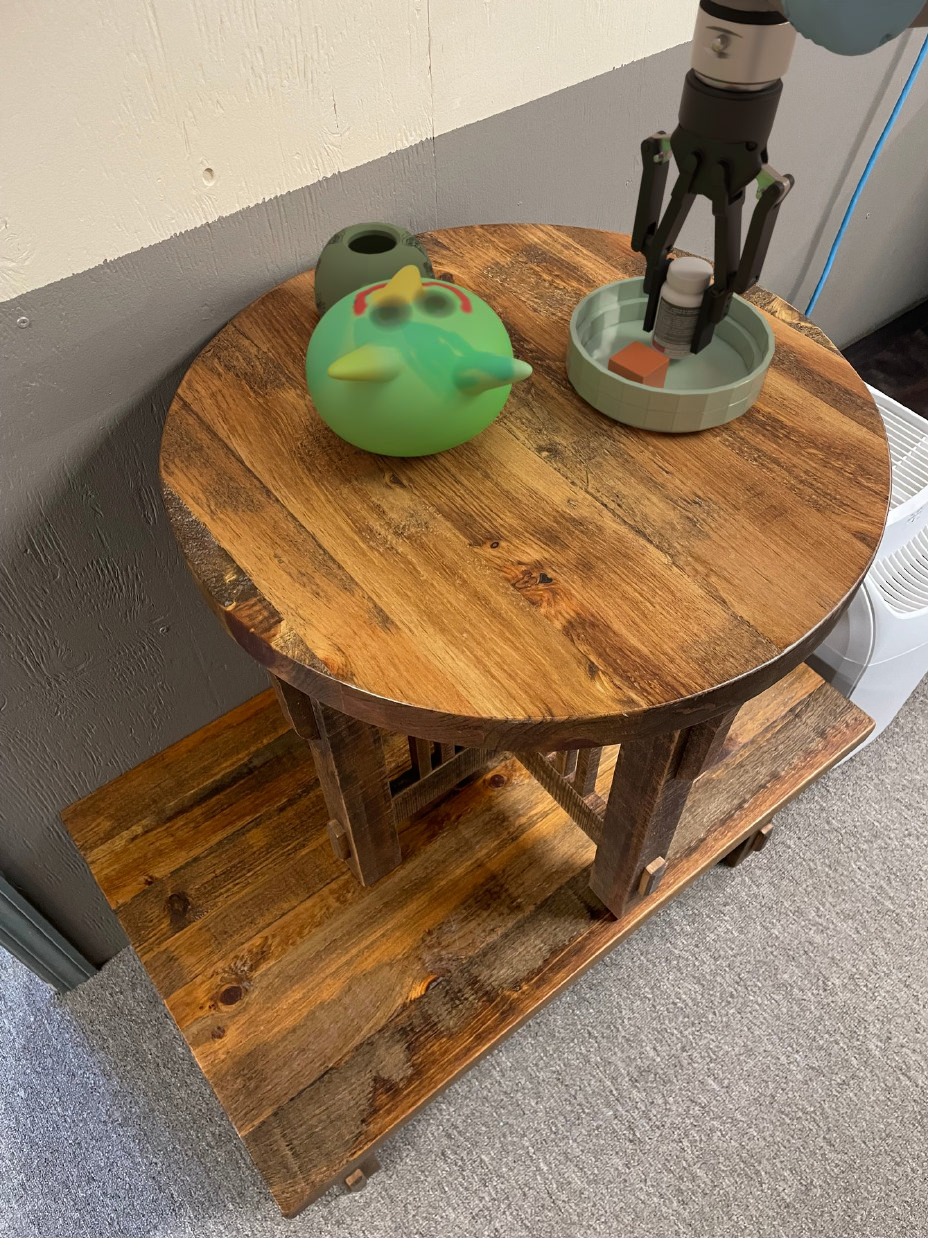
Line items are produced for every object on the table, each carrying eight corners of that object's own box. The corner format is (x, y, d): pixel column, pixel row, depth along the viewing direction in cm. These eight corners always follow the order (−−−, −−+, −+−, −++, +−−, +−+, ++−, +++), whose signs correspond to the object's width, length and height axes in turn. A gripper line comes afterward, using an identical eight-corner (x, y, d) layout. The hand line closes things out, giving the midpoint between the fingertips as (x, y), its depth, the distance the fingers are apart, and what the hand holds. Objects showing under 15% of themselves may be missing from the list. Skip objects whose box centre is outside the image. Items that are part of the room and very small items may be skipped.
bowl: (795, 369, 86) (811, 325, 82) (692, 467, 78) (704, 423, 74) (636, 297, 94) (644, 254, 90) (525, 379, 85) (529, 334, 81)
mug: (325, 282, 96) (315, 204, 89) (441, 285, 96) (440, 207, 89) (304, 370, 86) (291, 291, 79) (434, 373, 86) (432, 294, 79)
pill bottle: (701, 360, 84) (722, 282, 78) (653, 360, 84) (669, 281, 78) (694, 332, 87) (713, 254, 81) (647, 332, 87) (662, 253, 81)
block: (662, 393, 83) (670, 358, 80) (636, 412, 81) (643, 377, 78) (628, 375, 84) (635, 340, 81) (603, 394, 83) (608, 358, 79)
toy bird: (487, 368, 86) (492, 224, 75) (532, 482, 76) (546, 336, 65) (307, 392, 84) (283, 247, 72) (329, 513, 74) (305, 368, 62)
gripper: (613, 56, 69) (580, 318, 87) (818, 120, 61) (736, 391, 80) (665, 30, 72) (623, 287, 90) (865, 88, 65) (776, 354, 83)
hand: (676, 335), depth 85 cm, fingers closed on pill bottle, 5 cm apart
